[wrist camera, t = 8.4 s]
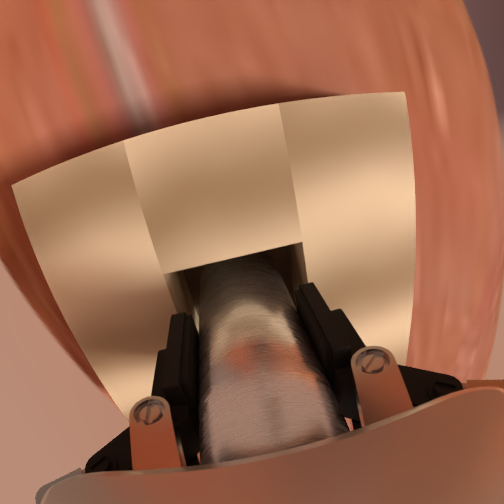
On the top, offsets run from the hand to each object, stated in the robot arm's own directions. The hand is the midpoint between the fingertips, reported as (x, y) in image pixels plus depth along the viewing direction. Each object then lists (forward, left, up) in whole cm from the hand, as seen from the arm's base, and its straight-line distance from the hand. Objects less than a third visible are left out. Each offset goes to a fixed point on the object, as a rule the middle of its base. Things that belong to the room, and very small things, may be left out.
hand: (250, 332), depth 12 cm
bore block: (0, 0, -6) cm, 6 cm away
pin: (0, 0, -4) cm, 4 cm away
